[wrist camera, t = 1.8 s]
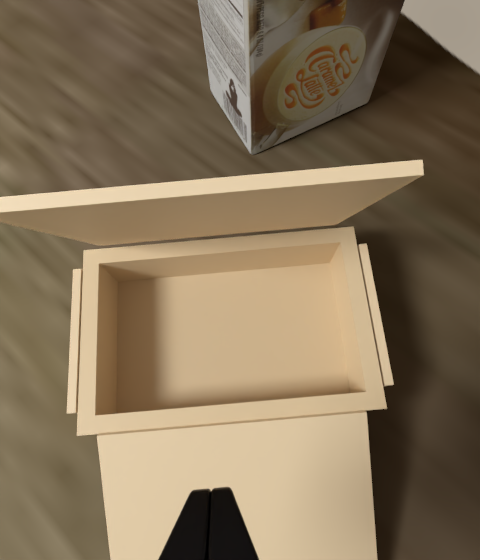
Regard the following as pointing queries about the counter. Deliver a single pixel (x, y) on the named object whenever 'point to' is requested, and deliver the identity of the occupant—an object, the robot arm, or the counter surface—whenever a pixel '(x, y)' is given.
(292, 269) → the carton
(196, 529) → the robot arm
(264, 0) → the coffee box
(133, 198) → the flap
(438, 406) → the counter surface
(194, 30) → the counter surface
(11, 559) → the counter surface
